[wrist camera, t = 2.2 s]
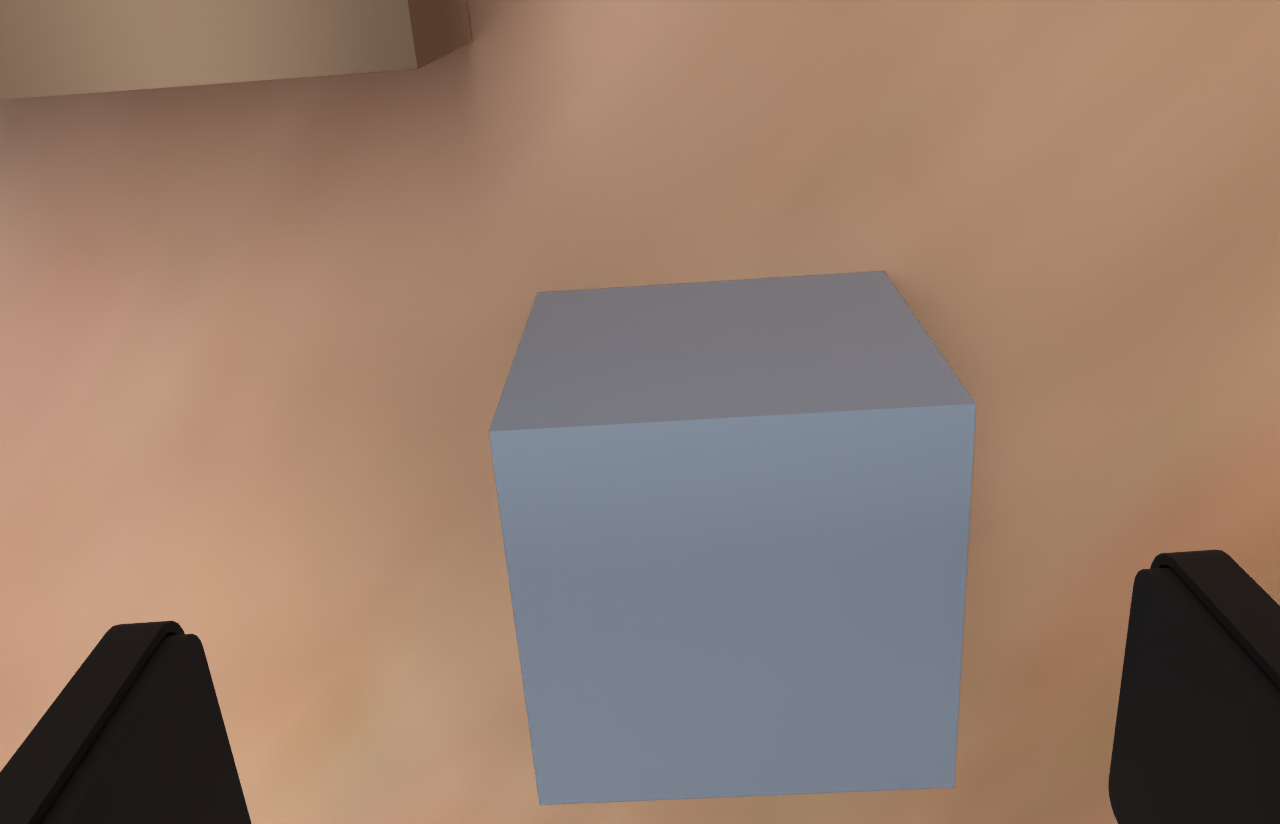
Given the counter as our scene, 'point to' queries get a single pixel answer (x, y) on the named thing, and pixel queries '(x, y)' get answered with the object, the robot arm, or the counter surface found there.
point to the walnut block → (214, 41)
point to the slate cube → (735, 539)
